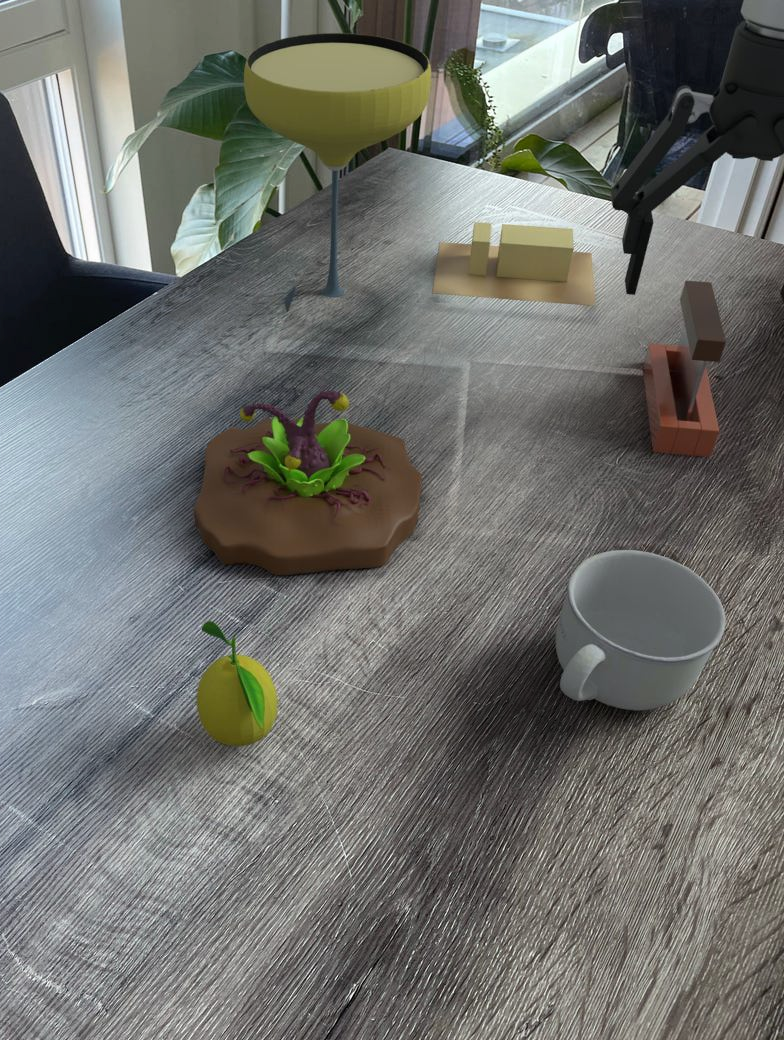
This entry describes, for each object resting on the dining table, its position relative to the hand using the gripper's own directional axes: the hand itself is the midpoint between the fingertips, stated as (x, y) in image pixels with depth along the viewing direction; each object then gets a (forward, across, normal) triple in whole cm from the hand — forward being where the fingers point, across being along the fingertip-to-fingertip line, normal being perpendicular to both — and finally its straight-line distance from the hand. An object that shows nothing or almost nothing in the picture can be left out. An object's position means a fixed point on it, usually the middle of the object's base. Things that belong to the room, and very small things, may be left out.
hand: (707, 294), depth 92 cm
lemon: (+13, -34, -46) cm, 58 cm away
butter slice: (+11, -20, +26) cm, 35 cm away
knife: (+12, 0, 0) cm, 12 cm away
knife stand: (+13, 0, 0) cm, 13 cm away
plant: (+13, -33, -19) cm, 40 cm away
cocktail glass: (+13, -36, +17) cm, 42 cm away
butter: (+11, -14, +26) cm, 32 cm away
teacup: (+13, -8, -37) cm, 40 cm away
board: (+13, -16, +25) cm, 32 cm away
